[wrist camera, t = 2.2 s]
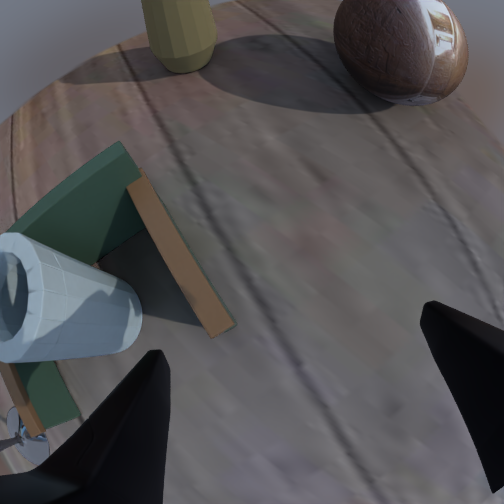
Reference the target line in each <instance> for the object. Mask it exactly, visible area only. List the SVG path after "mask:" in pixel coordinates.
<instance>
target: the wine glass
mask: <svg viewBox="0 0 504 504" xmlns="http://www.w3.org/2000/svg"><path fill="white" fill-rule="evenodd" d="M7 427H8V431H9V435H10V437H11V438H10V439H6V440H0V452H1V451H3V450H4V449H6V448H8V447H10V446H12V445H15V447H16V448H17V450H18V451H19V452H20V453H21V454H22V456H24V457H25V458H26V459H27V460H28V461H30V462H32V463H34V464H38V465H40V464H41V463H43V462H44V461H45V460H46V459H47V458H48V457H49V455H50V449H49V444H48V440H47V437H46V435H45V433H44V432H43V433H41V434H39V435H37V436H35V437H31V436H30V434H29V433H28V431H27V429H26V427H25V425H24V423H23V421H22V419H21V417H20V415H19V413H18V411H17V409H16V407H14V408H12V409H11V410H10V411H9V413H8V416H7Z"/></svg>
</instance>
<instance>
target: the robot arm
mask: <svg viewBox="0 0 504 504" xmlns="http://www.w3.org/2000/svg"><path fill="white" fill-rule="evenodd" d="M420 327H421V329H422V332H423V334H424V336H425V338H426V341H427V343H428V346H429V348H430V350H431V353H432V355H433V358H434V360H435V362H436V364H437V366H438V368H439V370H440V372H441V374H442V375H443V377H444V379H445V381H446V383H447V385H448V387H449V389H450V391H451V393H452V395H453V398H454V400H455V402H456V404H457V406H458V408H459V410H460V412H461V415H462V417H463V419H464V421H465V424H466V426H467V428H468V430H469V433H470V435H471V438H472V440H473V442H474V445H475V447H476V449H477V453H478V455H479V458H480V460H481V463H482V466H483V468H484V471H485V474H486V477H487V480H488V483H489V486H490V489H491V491H492V493H495V492H496V491H498V490H499V489H500V488H502V487H503V486H504V331H503V330H501V329H499V328H497V327H494V326H492V325H490V324H488V323H485V322H483V321H481V320H479V319H476V318H474V317H472V316H470V315H467V314H465V313H463V312H460V311H458V310H456V309H454V308H451V307H449V306H447V305H444V304H442V303H440V302H437V301H430V302H427V303H425V304H424V306H423V310H422V315H421V319H420ZM169 422H170V367H169V364H168V362H167V360H166V358H165V355H164V353H163V351H162V350H160V349H158V350H150V351H148V352H147V353H146V354H145V355H144V357H143V358H142V359H141V360H140V361H139V362H138V363H137V364H136V365H135V366H134V368H133V369H132V370H131V371H130V372H129V373H128V374H127V375H126V376H125V378H124V379H123V380H122V381H121V382H120V383H119V384H118V385H117V386H116V387H115V389H114V390H113V391H112V392H111V393H110V394H109V395H108V396H107V397H106V399H105V400H104V401H103V402H102V403H101V404H100V405H99V406H98V407H97V409H96V410H95V411H94V412H93V413H92V414H91V415H90V416H89V419H87V420H86V421H85V422H84V423H83V424H82V425H81V426H80V427H79V428H78V430H77V431H76V432H75V433H74V434H73V435H72V436H71V437H70V438H69V439H68V440H67V441H66V442H65V443H64V444H62V445H61V446H60V447H59V448H58V449H57V450H56V451H55V452H54V453H53V454H51V455H50V456H49V457H48V458H47V459H46V460H45V461H44V462H43V463H41V464H40V465H39V466H38V467H36V468H35V469H33V470H31V471H28V472H24V473H18V474H10V475H2V476H0V504H163V489H164V475H165V463H166V451H167V441H168V431H169Z"/></svg>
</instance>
